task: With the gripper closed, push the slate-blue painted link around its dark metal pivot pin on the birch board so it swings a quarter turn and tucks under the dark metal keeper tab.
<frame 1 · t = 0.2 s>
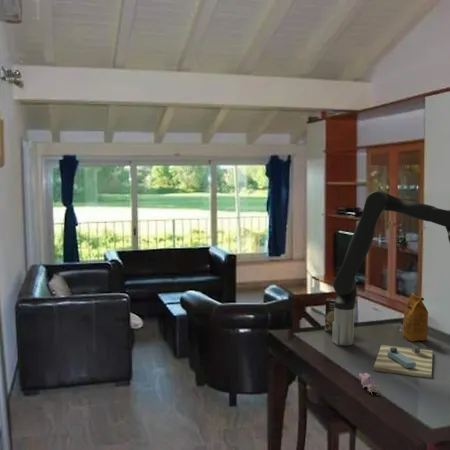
coffee package: (414, 338, 267), on the table
link: (400, 358, 230), point 3 cm above the table, hinge at -90.0°
rabbit figure: (368, 388, 206), on the table
coffee box: (334, 330, 280), on the table
keeper: (418, 353, 241), resting on pivot board
pivot board: (404, 361, 234), on the table
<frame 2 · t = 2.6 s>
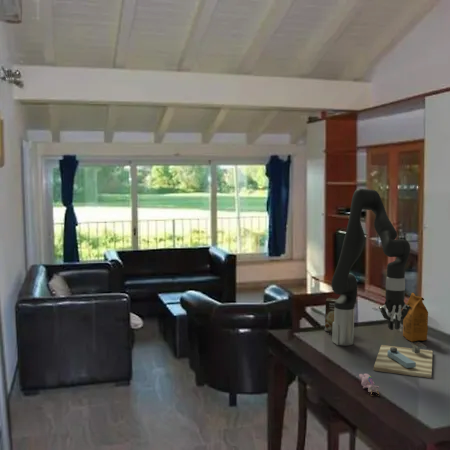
hand: (393, 329, 224), 17 cm above the table, tool pointing down, fingers closed
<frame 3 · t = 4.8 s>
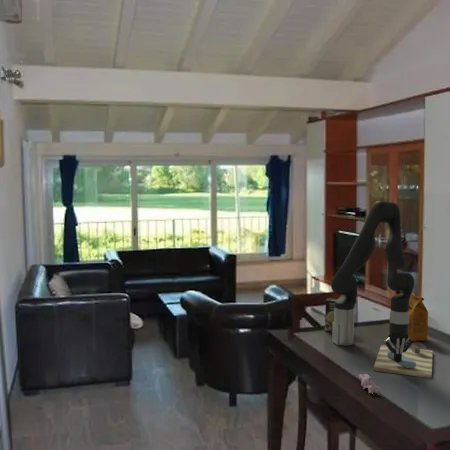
hand: (397, 361, 226), 3 cm above the table, tool pointing down, fingers closed
link: (400, 358, 230), point 3 cm above the table, hinge at -89.8°, touching gripper
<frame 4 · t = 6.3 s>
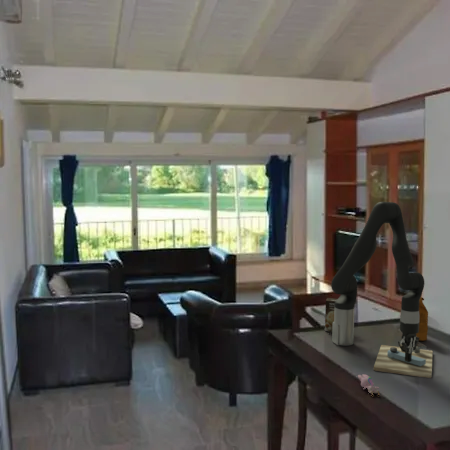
hand: (408, 361, 226), 3 cm above the table, tool pointing down, fingers closed
link: (405, 357, 231), point 3 cm above the table, hinge at -62.9°, touching gripper
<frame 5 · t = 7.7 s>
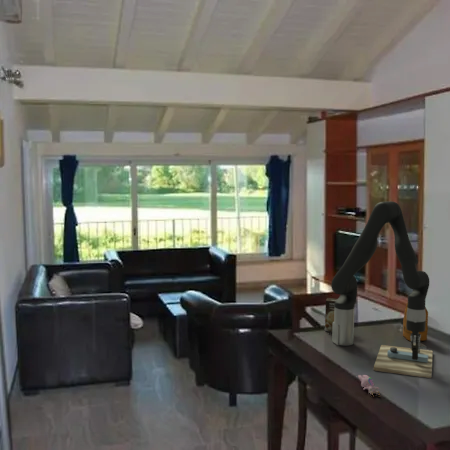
hand: (414, 359, 228), 3 cm above the table, tool pointing down, fingers closed
link: (407, 355, 233), point 3 cm above the table, hinge at -37.8°, touching gripper
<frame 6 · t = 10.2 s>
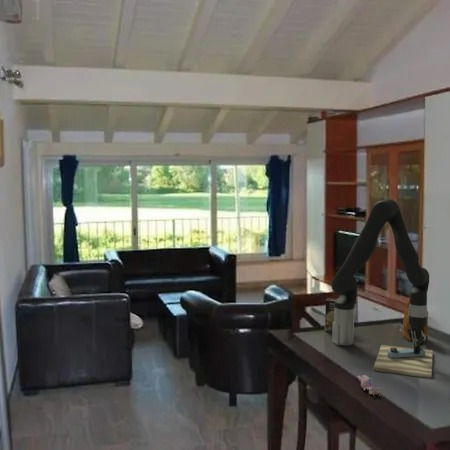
hand: (416, 353, 234), 4 cm above the table, tool pointing down, fingers closed
link: (405, 353, 236), point 3 cm above the table, hinge at -1.0°
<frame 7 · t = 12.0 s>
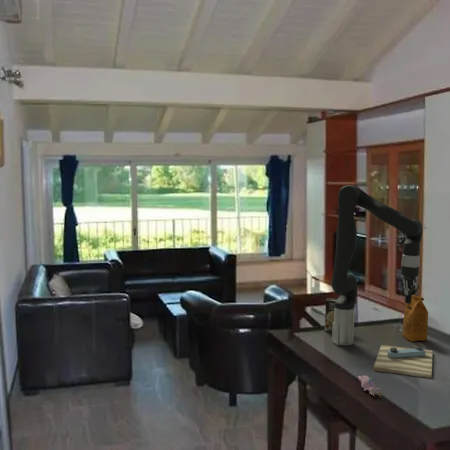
hand: (407, 303, 242), 23 cm above the table, tool pointing down, fingers closed
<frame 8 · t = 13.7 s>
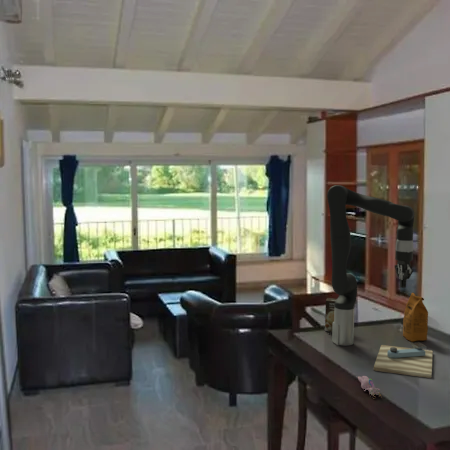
hand: (402, 287, 248), 29 cm above the table, tool pointing down, fingers closed
at the end: link at -1° (first picture: -90°); coffee package moved 0.2 cm from its start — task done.
